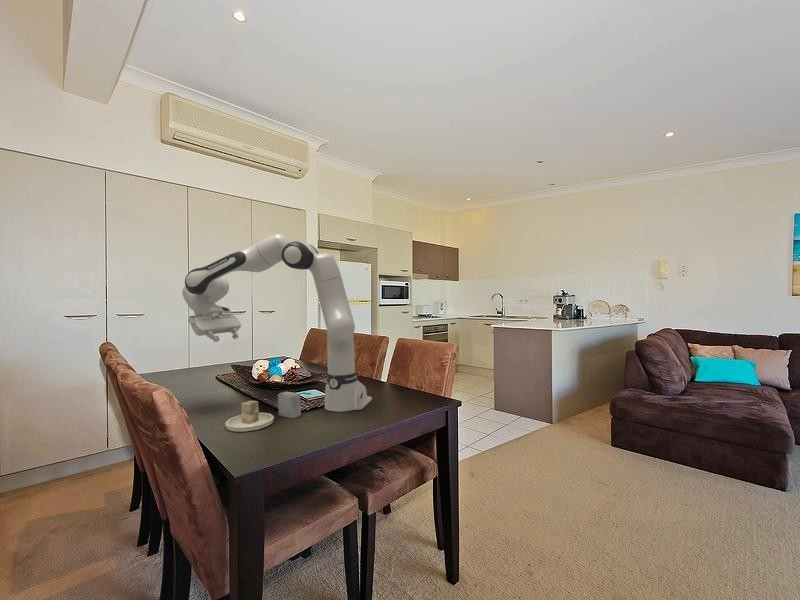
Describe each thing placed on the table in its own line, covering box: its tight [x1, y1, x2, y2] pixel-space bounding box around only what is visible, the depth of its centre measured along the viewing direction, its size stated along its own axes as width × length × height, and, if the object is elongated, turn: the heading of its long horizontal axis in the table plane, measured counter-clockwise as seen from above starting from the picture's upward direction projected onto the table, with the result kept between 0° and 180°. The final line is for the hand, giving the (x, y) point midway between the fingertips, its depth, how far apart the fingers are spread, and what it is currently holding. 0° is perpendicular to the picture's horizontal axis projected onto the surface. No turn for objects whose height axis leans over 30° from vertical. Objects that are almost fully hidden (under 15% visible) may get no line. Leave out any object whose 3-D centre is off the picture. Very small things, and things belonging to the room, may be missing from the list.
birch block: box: [240, 400, 259, 424], centre depth 139 cm, size 4×4×7 cm
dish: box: [224, 412, 275, 433], centre depth 139 cm, size 16×16×2 cm
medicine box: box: [277, 391, 302, 419], centre depth 148 cm, size 8×4×9 cm, turn 59°
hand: (227, 339), depth 154 cm, fingers open, 8 cm apart
